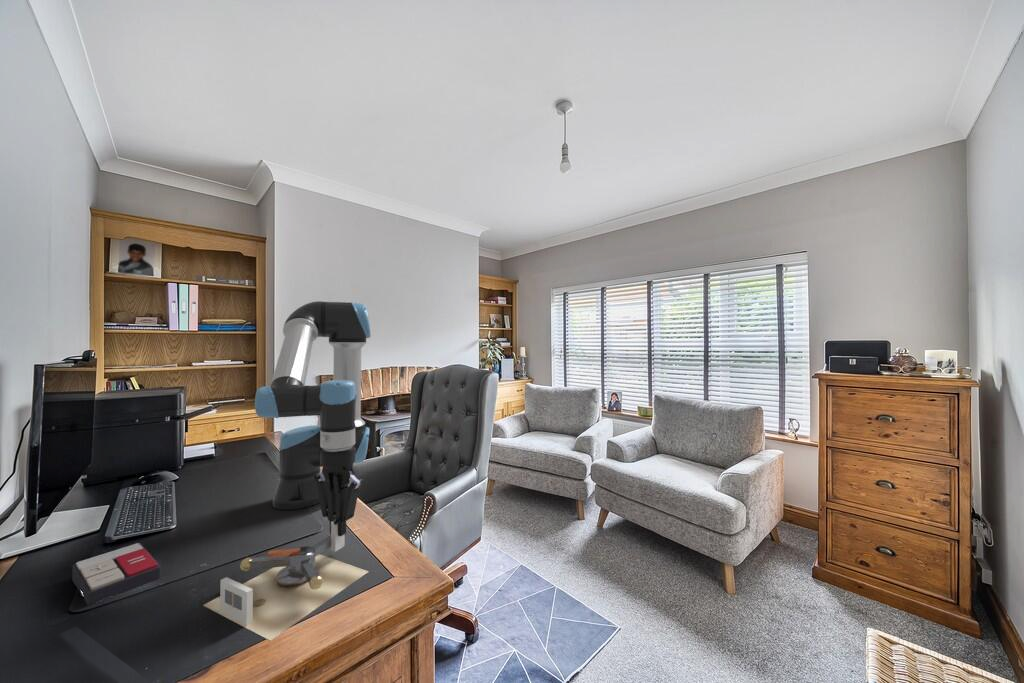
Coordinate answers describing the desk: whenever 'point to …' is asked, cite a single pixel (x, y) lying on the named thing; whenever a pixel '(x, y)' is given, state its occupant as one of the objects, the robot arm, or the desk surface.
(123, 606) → the desk surface
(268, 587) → the stand base
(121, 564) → the grey and red box
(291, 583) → the capstan
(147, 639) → the desk surface
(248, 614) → the panel
